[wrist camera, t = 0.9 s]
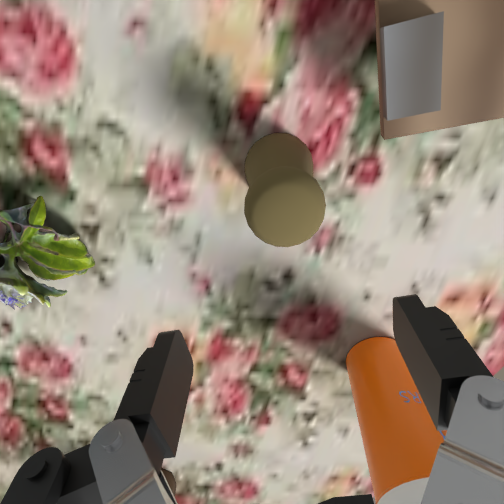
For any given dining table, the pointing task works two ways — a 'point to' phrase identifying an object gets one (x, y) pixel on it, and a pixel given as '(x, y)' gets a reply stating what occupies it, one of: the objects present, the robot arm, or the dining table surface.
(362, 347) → the shaker bottle
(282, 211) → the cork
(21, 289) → the passion flower
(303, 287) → the dining table surface
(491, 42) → the seesaw board
